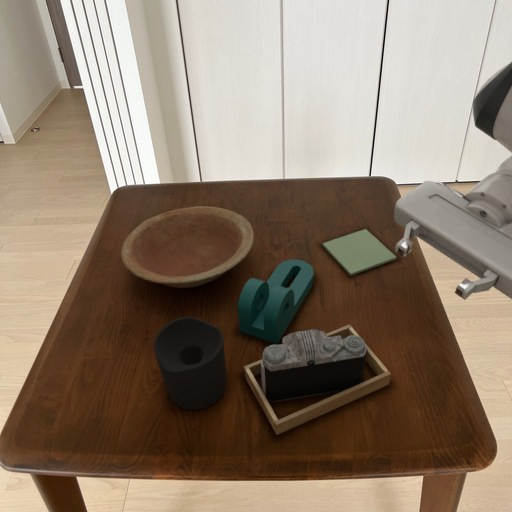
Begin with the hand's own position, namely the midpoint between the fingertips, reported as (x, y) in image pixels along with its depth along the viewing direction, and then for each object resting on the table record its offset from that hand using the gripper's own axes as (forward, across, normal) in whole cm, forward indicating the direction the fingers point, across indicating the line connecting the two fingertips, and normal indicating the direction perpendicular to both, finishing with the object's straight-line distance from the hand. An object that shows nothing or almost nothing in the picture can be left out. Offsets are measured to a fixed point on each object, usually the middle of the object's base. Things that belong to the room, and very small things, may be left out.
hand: (428, 271), depth 65 cm
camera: (+16, -6, +16) cm, 24 cm away
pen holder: (+30, -16, +15) cm, 37 cm away
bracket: (+9, -20, +20) cm, 30 cm away
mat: (-10, -20, +23) cm, 32 cm away
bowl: (+16, -37, +21) cm, 46 cm away
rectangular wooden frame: (+16, -5, +16) cm, 23 cm away
